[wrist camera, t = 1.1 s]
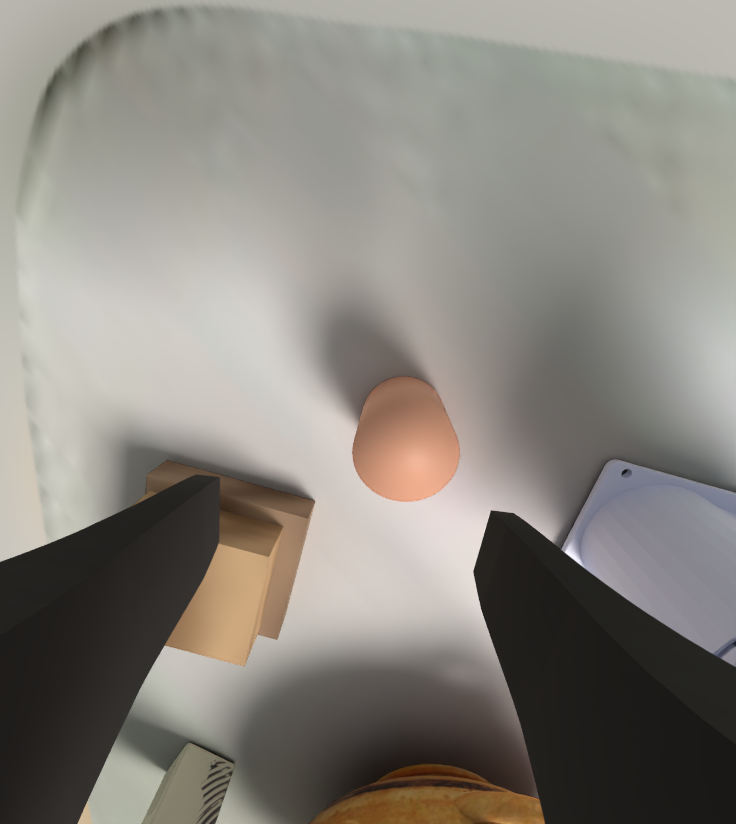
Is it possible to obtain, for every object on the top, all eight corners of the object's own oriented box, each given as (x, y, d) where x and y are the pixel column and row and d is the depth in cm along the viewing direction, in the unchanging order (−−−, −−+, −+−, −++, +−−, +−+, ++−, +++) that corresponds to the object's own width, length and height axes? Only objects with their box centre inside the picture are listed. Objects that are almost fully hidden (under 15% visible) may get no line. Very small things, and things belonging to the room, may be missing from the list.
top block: (283, 526, 21) (268, 557, 18) (260, 627, 23) (244, 666, 21) (150, 490, 21) (118, 516, 18) (140, 595, 23) (110, 631, 20)
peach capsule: (455, 389, 20) (475, 420, 15) (429, 463, 21) (439, 513, 16) (374, 366, 20) (368, 390, 15) (353, 441, 21) (341, 486, 16)
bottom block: (317, 495, 23) (308, 518, 20) (287, 607, 26) (277, 639, 23) (172, 455, 23) (147, 474, 20) (159, 572, 25) (134, 601, 23)
